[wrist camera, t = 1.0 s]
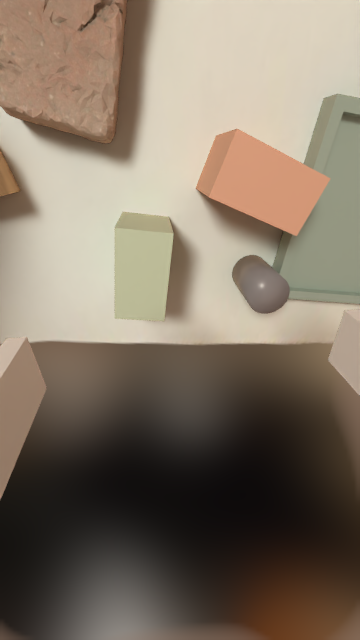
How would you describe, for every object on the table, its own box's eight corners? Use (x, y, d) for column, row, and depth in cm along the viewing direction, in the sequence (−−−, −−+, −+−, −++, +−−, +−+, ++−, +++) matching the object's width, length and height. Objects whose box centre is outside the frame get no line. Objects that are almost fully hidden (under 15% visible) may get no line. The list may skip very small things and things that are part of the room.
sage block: (121, 286, 31) (114, 318, 25) (122, 211, 27) (114, 227, 21) (161, 289, 31) (164, 321, 25) (168, 216, 27) (173, 233, 21)
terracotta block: (265, 219, 28) (296, 236, 22) (195, 188, 26) (208, 197, 20) (289, 173, 26) (330, 178, 20) (215, 135, 24) (237, 128, 18)
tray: (265, 290, 32) (271, 297, 31) (323, 98, 23) (337, 93, 22) (370, 298, 34) (382, 305, 33) (461, 124, 25) (484, 121, 24)
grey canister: (228, 287, 32) (243, 312, 27) (236, 253, 30) (254, 273, 25) (261, 289, 32) (282, 314, 27) (271, 256, 30) (295, 277, 25)
